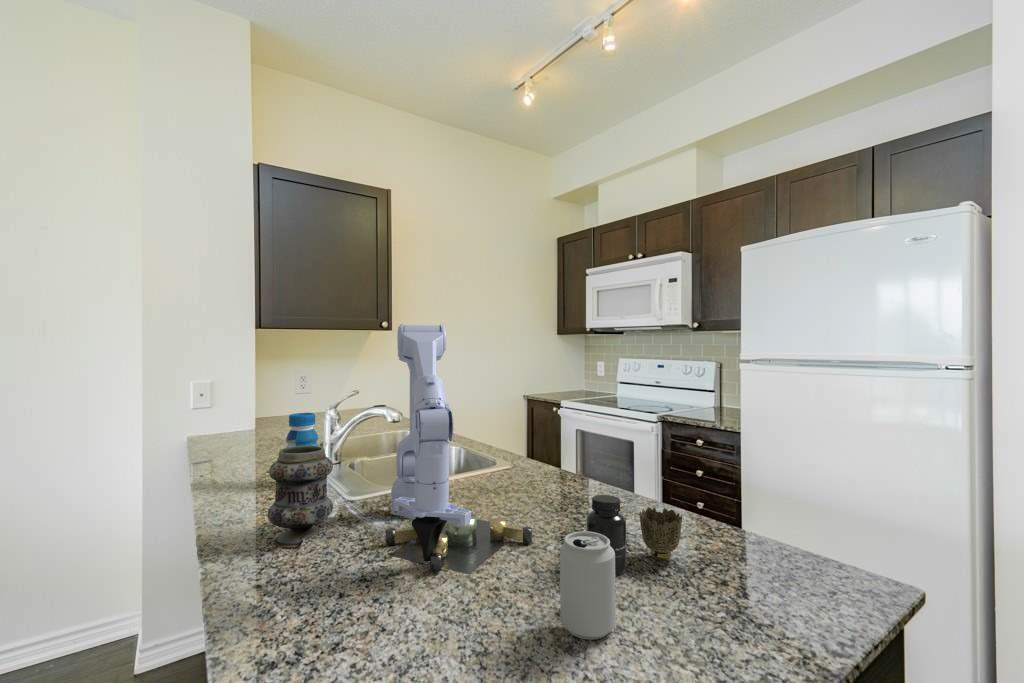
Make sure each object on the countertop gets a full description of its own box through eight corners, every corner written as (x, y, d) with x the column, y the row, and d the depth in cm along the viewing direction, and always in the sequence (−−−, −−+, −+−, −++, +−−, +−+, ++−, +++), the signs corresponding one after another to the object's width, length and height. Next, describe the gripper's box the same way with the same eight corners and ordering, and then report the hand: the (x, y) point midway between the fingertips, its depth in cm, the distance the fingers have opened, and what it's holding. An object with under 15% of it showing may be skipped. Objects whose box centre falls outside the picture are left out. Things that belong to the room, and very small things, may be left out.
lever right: (487, 538, 91) (486, 522, 91) (494, 532, 94) (494, 517, 94) (528, 546, 88) (528, 529, 88) (535, 539, 91) (535, 523, 91)
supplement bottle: (627, 579, 78) (626, 506, 78) (585, 575, 79) (584, 503, 79) (625, 561, 85) (625, 493, 85) (587, 557, 86) (586, 491, 86)
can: (555, 612, 68) (555, 529, 68) (606, 610, 69) (606, 527, 69) (566, 645, 61) (565, 551, 61) (623, 641, 61) (622, 548, 62)
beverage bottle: (310, 490, 128) (310, 416, 128) (279, 490, 128) (279, 416, 128) (323, 481, 136) (323, 412, 136) (294, 481, 136) (294, 412, 137)
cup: (682, 552, 88) (682, 509, 88) (683, 570, 81) (682, 523, 81) (641, 547, 90) (640, 505, 91) (638, 563, 83) (637, 518, 84)
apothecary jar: (345, 532, 99) (345, 445, 99) (297, 555, 88) (297, 457, 88) (304, 523, 104) (304, 441, 104) (253, 544, 93) (253, 452, 93)
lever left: (430, 534, 93) (430, 519, 93) (433, 540, 90) (433, 525, 90) (385, 540, 90) (385, 525, 90) (386, 547, 87) (386, 531, 87)
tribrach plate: (387, 561, 85) (387, 525, 85) (454, 520, 105) (454, 491, 105) (469, 581, 78) (469, 542, 78) (524, 533, 97) (524, 502, 97)
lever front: (430, 550, 86) (430, 534, 86) (448, 550, 86) (448, 533, 86) (425, 573, 77) (425, 555, 77) (445, 572, 77) (445, 554, 77)
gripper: (382, 479, 80) (381, 559, 80) (455, 493, 73) (453, 580, 74) (409, 469, 86) (408, 543, 86) (478, 481, 80) (476, 561, 80)
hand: (430, 559), depth 80 cm, fingers closed, pressing on lever front
